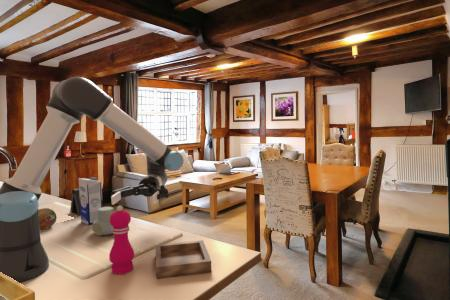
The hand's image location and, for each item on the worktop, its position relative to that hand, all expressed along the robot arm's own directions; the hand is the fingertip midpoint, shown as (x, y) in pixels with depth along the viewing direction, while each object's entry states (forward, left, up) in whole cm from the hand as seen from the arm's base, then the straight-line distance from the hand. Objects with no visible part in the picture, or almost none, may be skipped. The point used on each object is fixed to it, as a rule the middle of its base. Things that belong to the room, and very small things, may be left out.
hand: (132, 200), depth 104 cm
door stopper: (-28, +54, -19) cm, 64 cm away
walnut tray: (+15, -10, -19) cm, 26 cm away
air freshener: (-12, +23, -19) cm, 32 cm away
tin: (-41, +34, -19) cm, 57 cm away
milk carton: (-20, +38, -19) cm, 47 cm away
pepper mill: (-3, -10, -19) cm, 21 cm away
